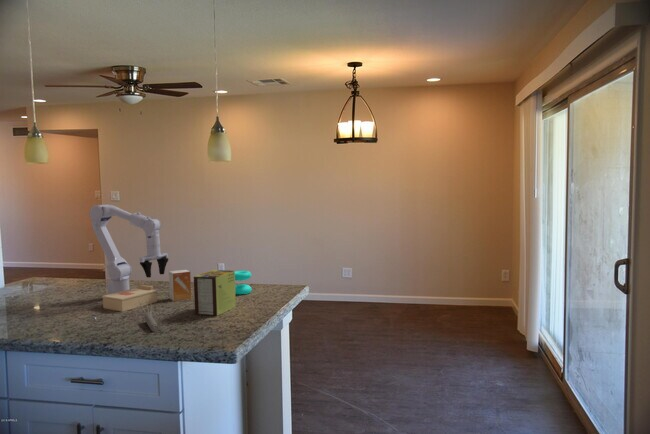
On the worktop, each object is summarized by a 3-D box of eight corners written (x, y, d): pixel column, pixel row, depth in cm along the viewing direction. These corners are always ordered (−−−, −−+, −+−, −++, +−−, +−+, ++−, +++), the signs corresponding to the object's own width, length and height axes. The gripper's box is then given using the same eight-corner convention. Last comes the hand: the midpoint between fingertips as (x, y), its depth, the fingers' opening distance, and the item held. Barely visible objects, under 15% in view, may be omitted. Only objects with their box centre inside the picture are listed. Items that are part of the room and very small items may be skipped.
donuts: (232, 270, 244) (252, 270, 244) (232, 290, 245) (253, 290, 245) (227, 274, 234) (249, 273, 234) (228, 295, 235) (249, 295, 235)
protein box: (236, 306, 214) (235, 270, 213) (217, 316, 199) (215, 277, 198) (214, 305, 217) (213, 269, 216) (194, 314, 203) (192, 276, 202)
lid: (102, 297, 212) (101, 292, 212) (137, 288, 228) (137, 284, 228) (121, 300, 206) (121, 295, 206) (157, 291, 222) (157, 286, 222)
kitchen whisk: (147, 335, 177) (146, 317, 176) (133, 314, 206) (132, 298, 206) (165, 332, 179) (164, 315, 179) (148, 312, 209) (148, 297, 209)
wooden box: (103, 309, 213) (102, 297, 212) (138, 300, 228) (137, 289, 228) (122, 312, 207) (122, 300, 206) (157, 303, 222) (156, 291, 222)
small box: (173, 302, 223) (172, 273, 222) (169, 299, 228) (168, 271, 227) (191, 299, 227) (190, 271, 226) (187, 297, 233) (186, 269, 232)
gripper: (146, 248, 219) (148, 279, 220) (171, 243, 231) (173, 273, 232) (135, 247, 222) (137, 278, 223) (161, 243, 235) (163, 272, 236)
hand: (155, 275), depth 228 cm, fingers open, 7 cm apart
